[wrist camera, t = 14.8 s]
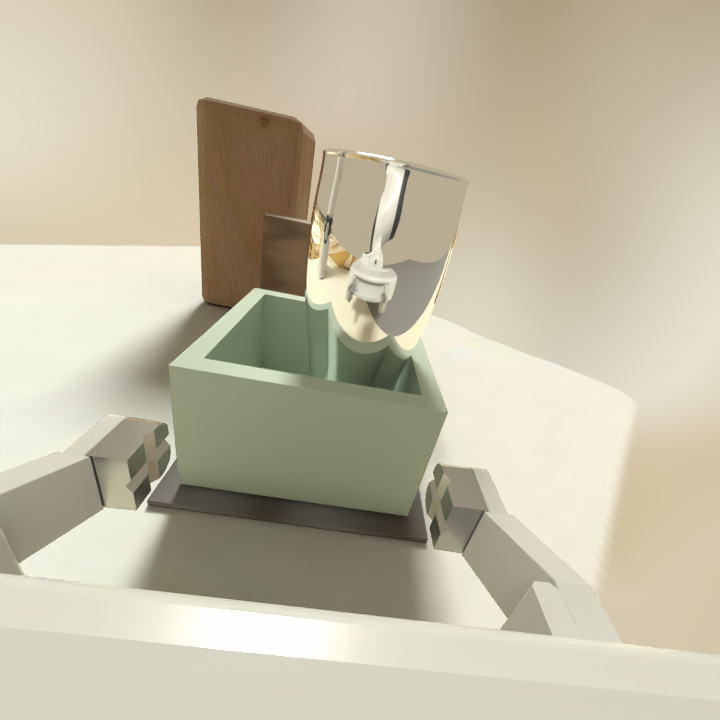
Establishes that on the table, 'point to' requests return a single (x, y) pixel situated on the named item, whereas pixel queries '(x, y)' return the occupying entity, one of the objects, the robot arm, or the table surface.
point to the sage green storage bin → (297, 416)
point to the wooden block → (246, 189)
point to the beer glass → (375, 263)
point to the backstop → (282, 275)
